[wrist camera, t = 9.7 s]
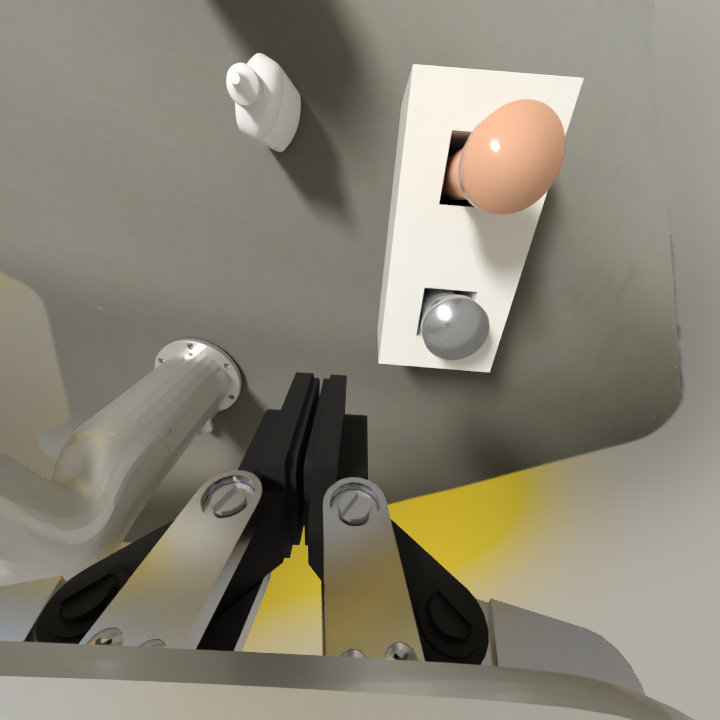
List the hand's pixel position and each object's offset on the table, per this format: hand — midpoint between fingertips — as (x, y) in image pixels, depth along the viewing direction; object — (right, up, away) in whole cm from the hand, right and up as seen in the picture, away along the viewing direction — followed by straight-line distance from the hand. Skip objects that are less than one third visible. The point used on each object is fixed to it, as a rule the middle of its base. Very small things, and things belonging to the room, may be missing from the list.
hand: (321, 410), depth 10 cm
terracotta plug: (+11, +20, +20) cm, 30 cm away
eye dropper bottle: (-7, +26, +21) cm, 34 cm away
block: (+11, +16, +25) cm, 32 cm away
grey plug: (+10, +11, +28) cm, 32 cm away
